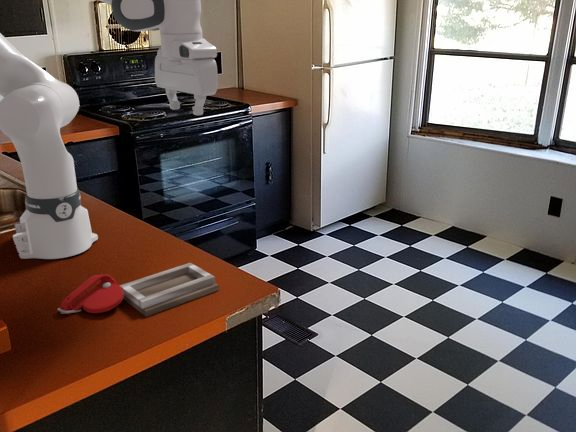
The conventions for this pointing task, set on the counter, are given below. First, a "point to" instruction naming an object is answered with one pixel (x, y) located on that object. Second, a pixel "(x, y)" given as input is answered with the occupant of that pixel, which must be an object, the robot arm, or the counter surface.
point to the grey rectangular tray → (168, 289)
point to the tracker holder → (94, 296)
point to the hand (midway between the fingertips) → (186, 111)
